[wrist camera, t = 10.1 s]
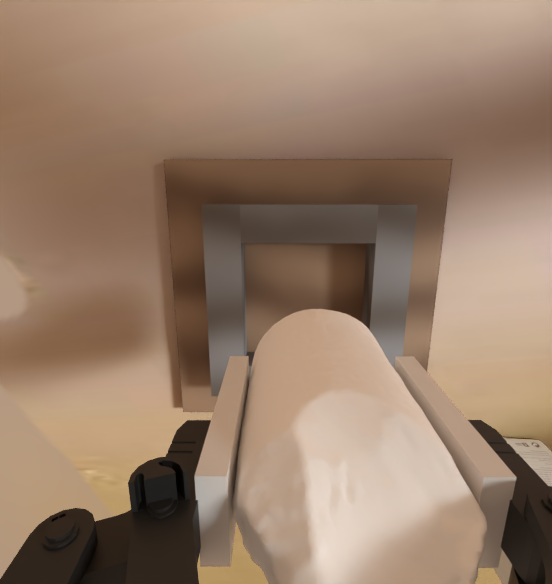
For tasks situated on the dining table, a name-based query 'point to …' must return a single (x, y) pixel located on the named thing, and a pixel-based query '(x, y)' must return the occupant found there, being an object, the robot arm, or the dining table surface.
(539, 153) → the dining table surface
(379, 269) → the socket
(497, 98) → the dining table surface
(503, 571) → the skincare box
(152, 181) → the dining table surface
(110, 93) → the dining table surface
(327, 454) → the white bottle-shaped piece
